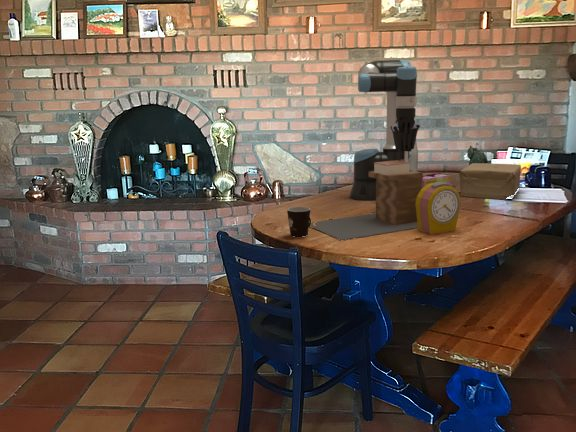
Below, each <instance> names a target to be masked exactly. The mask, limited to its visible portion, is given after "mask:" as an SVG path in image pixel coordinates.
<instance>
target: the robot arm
mask: <svg viewBox="0 0 576 432" xmlns="http://www.w3.org/2000/svg"><path fill="white" fill-rule="evenodd" d="M417 73H418V72H417V67H416V66H412V65H411V62H410V61H409V60H406V59H389V60H373V61H370V62H368V63H365V64H363V65H362V66H361V67H360V69H359V71H358V75H357V76H358V77H357V90H358V92H359V93H366V94H367V93H386V126H385V127H386V131H385V132H386V134H385V135H386V136H385V139H386V140H385V145H384V146H383V147H382V151H379V149H378V148H367V149H366V148H365V149H362V150H361V149H360V150H358V151H355V153H353V183H352V186H351V189H350V192H349V198H350V199H353V200H358V201H374V200H375V201H376V178H372V177H368V172H369V171H374V162H384V161H395V160H398V161H403V162H409V166H410V159H411V158H410V157H411V153H410V151H411V149H414V145H415V141H416V142H417V136H418V131H419V129H420V127H421V125H420V124H417V123H416V121H415V118H416V113H417V112H416V108H415V107H416V105H417V103H416V102H417V77H418V74H417Z"/></svg>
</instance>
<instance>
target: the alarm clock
mask: <svg viewBox="0 0 576 432" xmlns="http://www.w3.org/2000/svg"><path fill="white" fill-rule="evenodd" d="M461 201H462V200H461V195H460V194H459V192H458V190H457V189H455V188H454V187H453V186H451V187H450V184H448V183H443V182H437V183H431V184H428V185H426V186H424V187H423V188H422V189H421V190H420V192H419V194H418V195H417V198H416V203H415V206H416V214H417V223H418V228H417V229H418V231H421V232H423V233H427V234H428V235H429V234H430V235H432V234H433V235H434V234H441V233H448V232H454V231H456V229H457V225H458V219H459V213H460V208H461Z"/></svg>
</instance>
